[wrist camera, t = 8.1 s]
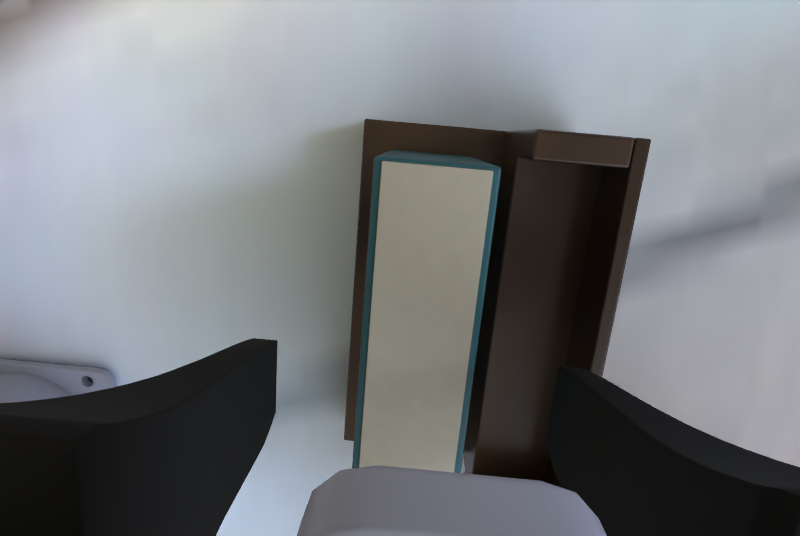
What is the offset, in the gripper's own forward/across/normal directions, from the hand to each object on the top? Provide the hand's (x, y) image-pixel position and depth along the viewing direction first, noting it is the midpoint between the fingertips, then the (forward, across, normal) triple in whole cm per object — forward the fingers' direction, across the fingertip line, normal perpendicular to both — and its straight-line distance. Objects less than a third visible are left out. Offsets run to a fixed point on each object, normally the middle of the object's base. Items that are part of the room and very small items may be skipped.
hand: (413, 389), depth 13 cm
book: (+7, 0, 0) cm, 7 cm away
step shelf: (+8, -2, 0) cm, 9 cm away
